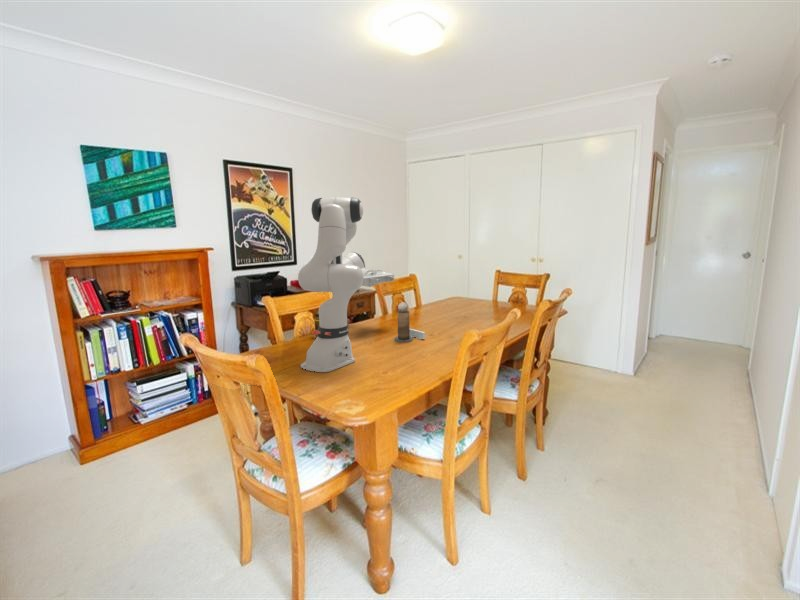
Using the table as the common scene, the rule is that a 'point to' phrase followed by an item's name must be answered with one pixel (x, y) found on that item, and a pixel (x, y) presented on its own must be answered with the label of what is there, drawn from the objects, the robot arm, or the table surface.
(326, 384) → the table surface
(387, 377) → the table surface
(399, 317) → the peg
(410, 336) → the mat
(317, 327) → the condiment
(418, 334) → the acrylic wall
